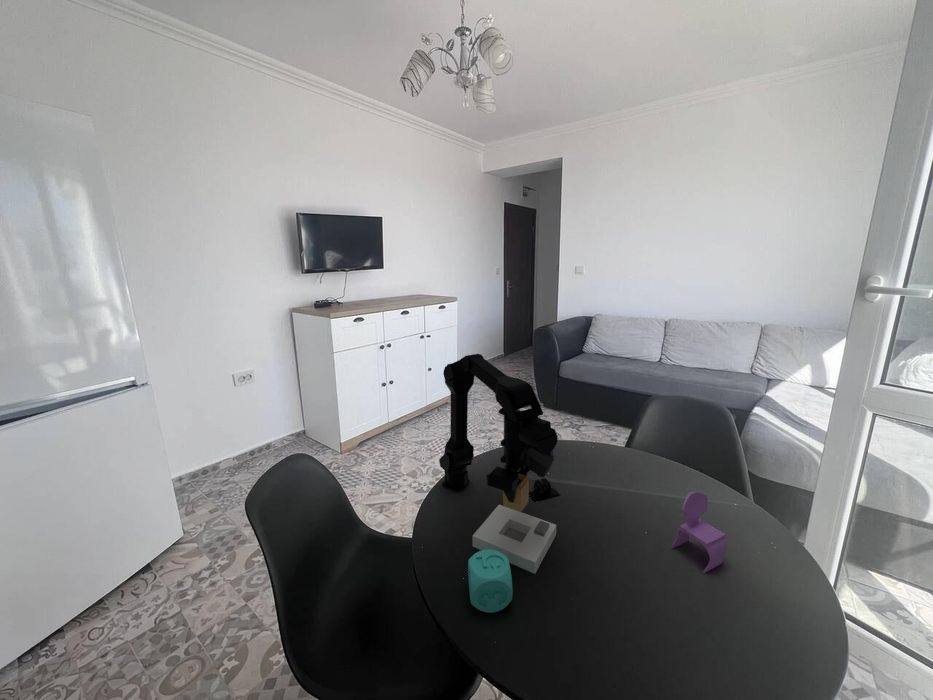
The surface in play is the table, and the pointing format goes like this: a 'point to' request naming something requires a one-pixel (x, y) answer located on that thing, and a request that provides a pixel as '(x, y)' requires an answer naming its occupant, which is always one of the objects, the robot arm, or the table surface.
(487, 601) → the decorative dice
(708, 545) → the toy chair
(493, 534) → the socket plate
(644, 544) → the table surface
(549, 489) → the black angular piece
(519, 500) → the brown block
